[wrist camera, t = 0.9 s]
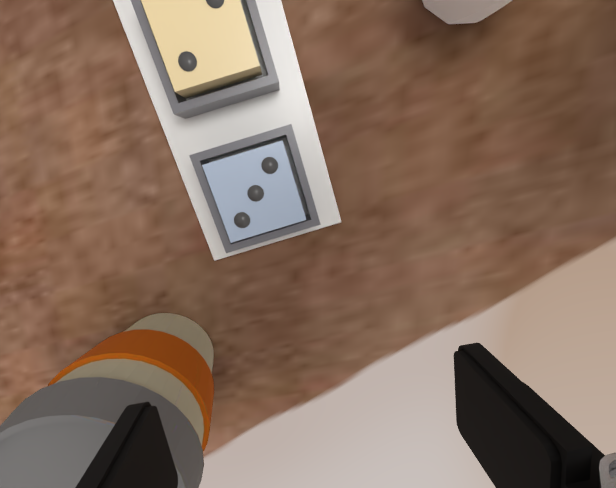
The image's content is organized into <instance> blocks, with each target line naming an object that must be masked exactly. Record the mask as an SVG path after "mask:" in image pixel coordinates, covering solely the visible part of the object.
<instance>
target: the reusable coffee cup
mask: <svg viewBox="0 0 616 488" xmlns="http://www.w3.org/2000/svg"><path fill="white" fill-rule="evenodd" d="M213 359H214V351H213V346H212V342H211V340H210V338H209V336H208V335H207V333H206V332H205V331H204V330H203V328H202V327H200V326H199V325H198V324H197V323H196V322H194V321H192V320H191V319H189V318H187V317H184V316H181V315H178V314H172V313H158V314H153V315H149V316H147V317H144V318H142V319H141V320H139V321H137V322H136V323H135V324H133V325H132V326H131V327H129V328H128V329H127V330H125V331H124V332H121V333H118V334H116V335H113V336H111V337H109V338H107V339H106V340H104V341H103V342H101V343H99V344H98V345H97V346H95V347H94V348H92V349H91V350H90V351H88V352H87V353H85V354H84V355H83V356H81V357H80V358H79V359H77V360H76V361H74V362H73V363H72V364H70V365H69V366H67V367H66V368H65V369H63V370H62V371H60V372H59V373H58V374H57V375H56V377H55V378H54V379H53V380H52V381H51V382H50V383H49V384H48V386H47V387H45V388H42V389H40V390H39V391H37V392H35V393H34V394H32V395H31V396H29V397H28V398H26V399H25V400H24V401H23V402H22V403H21V404H20V405H19V406H18V407H17V408H16V409H15V410H14V411H13V412H12V413H11V414H10V415H9V417H8V418H7V419H6V420H5V421H4V422H3V423H2V425H1V426H0V488H75V487H76V486H77V484H78V483H79V481H80V479H81V478H82V476H83V475H84V473H85V471H86V470H87V468H88V467H89V465H90V463H91V462H92V460H93V459H94V457H95V456H96V454H97V452H98V451H99V449H100V448H101V446H102V444H103V443H104V441H105V440H106V438H107V436H108V435H109V433H110V432H111V430H112V428H113V427H114V425H115V424H116V422H117V420H118V419H119V417H120V416H121V414H122V412H123V411H124V409H125V408H126V407H127V406H128V405H131V404H137V403H142V402H149V403H150V404H151V406H156V407H157V409H158V412H159V416H160V419H161V422H162V425H163V429H164V432H165V435H166V438H167V442H168V445H169V448H170V451H171V454H172V458H173V461H174V464H175V467H176V471H177V474H178V487H177V488H198V487H199V484H200V482H201V478H202V473H203V467H204V460H203V451H204V449H205V447H206V445H207V442H208V436H209V430H210V422H211V413H212V405H213V396H214V382H213V377H212V367H213Z"/></svg>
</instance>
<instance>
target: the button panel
mask: <svg viewBox="0 0 616 488" xmlns="http://www.w3.org/2000/svg"><path fill="white" fill-rule="evenodd" d="M240 1H241V4H242V8H243V11H244V14H245V18H246V21H247V24H248V28H249V31H250V34H251V38H252V41H253V44H254V47H255V51H256V54H257V57H258V61H259V64H260V68H261V71H262V75H259V76H256V77H253V78H249V79H246V80H243V81H240V82H236V83H233V84H230V85H227V86H224V87H220V88H217V89H214V90H211V91H207V92H204V93H201V94H198V95H194V96H191V97H188V98H184V97H183V96H181V95H179V94H178V93H176V92H175V91H174V88H173V85H172V83H171V80H170V77H169V75H168V72H167V69H166V67H165V64H164V61H163V58H162V56H161V53H160V50H159V48H158V45H157V42H156V40H155V37H154V34H153V31H152V29H151V26H150V23H149V21H148V18H147V15H146V13H145V10H144V7H143V4H142V2H141V0H113V2H114V4H115V7H116V9H117V12H118V14H119V17H120V20H121V22H122V25H123V27H124V30H125V32H126V35H127V38H128V40H129V43H130V45H131V48H132V50H133V53H134V56H135V58H136V61H137V63H138V66H139V68H140V71H141V74H142V76H143V79H144V81H145V84H146V86H147V89H148V91H149V94H150V97H151V99H152V102H153V104H154V107H155V109H156V112H157V115H158V117H159V120H160V122H161V125H162V127H163V130H164V133H165V135H166V138H167V140H168V143H169V145H170V148H171V151H172V153H173V156H174V158H175V161H176V163H177V166H178V169H179V171H180V174H181V176H182V179H183V181H184V184H185V187H186V189H187V192H188V194H189V197H190V199H191V202H192V204H193V207H194V210H195V212H196V215H197V217H198V220H199V222H200V225H201V228H202V230H203V233H204V235H205V238H206V240H207V243H208V246H209V248H210V251H211V253H212V256H213V258H214V261H215V260H218V259H222V258H225V257H228V256H231V255H235V254H238V253H241V252H245V251H248V250H251V249H255V248H258V247H261V246H264V245H268V244H271V243H274V242H278V241H281V240H284V239H287V238H291V237H294V236H297V235H301V234H304V233H307V232H311V231H314V230H317V229H320V228H324V227H327V226H330V225H334V224H337V223H340V222H341V218H340V215H339V211H338V207H337V204H336V200H335V196H334V193H333V189H332V185H331V182H330V178H329V175H328V171H327V167H326V164H325V160H324V156H323V153H322V149H321V145H320V142H319V138H318V134H317V131H316V127H315V123H314V120H313V116H312V112H311V109H310V105H309V101H308V98H307V94H306V90H305V87H304V83H303V79H302V76H301V72H300V68H299V65H298V61H297V57H296V54H295V50H294V46H293V43H292V39H291V35H290V32H289V28H288V24H287V21H286V17H285V13H284V10H283V6H282V2H281V0H240ZM282 140H283V144H284V147H285V150H286V154H287V157H288V160H289V164H290V167H291V170H292V174H293V177H294V180H295V184H296V187H297V190H298V194H299V197H300V200H301V203H302V207H303V210H304V213H305V217H306V220H304V221H301V222H298V223H294V224H291V225H288V226H285V227H281V228H278V229H275V230H271V231H268V232H265V233H262V234H258V235H255V236H252V237H248V238H245V239H242V240H239V241H235V242H232V243H231V242H230V240H229V237H228V234H227V231H226V229H225V226H224V223H223V221H222V218H221V215H220V212H219V210H218V207H217V204H216V202H215V199H214V196H213V194H212V191H211V188H210V185H209V183H208V180H207V177H206V175H205V172H204V169H203V167H202V165H204V164H207V163H210V162H213V161H217V160H220V159H223V158H226V157H230V156H233V155H236V154H239V153H243V152H246V151H249V150H252V149H256V148H259V147H262V146H265V145H269V144H272V143H275V142H279V141H282Z"/></svg>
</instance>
